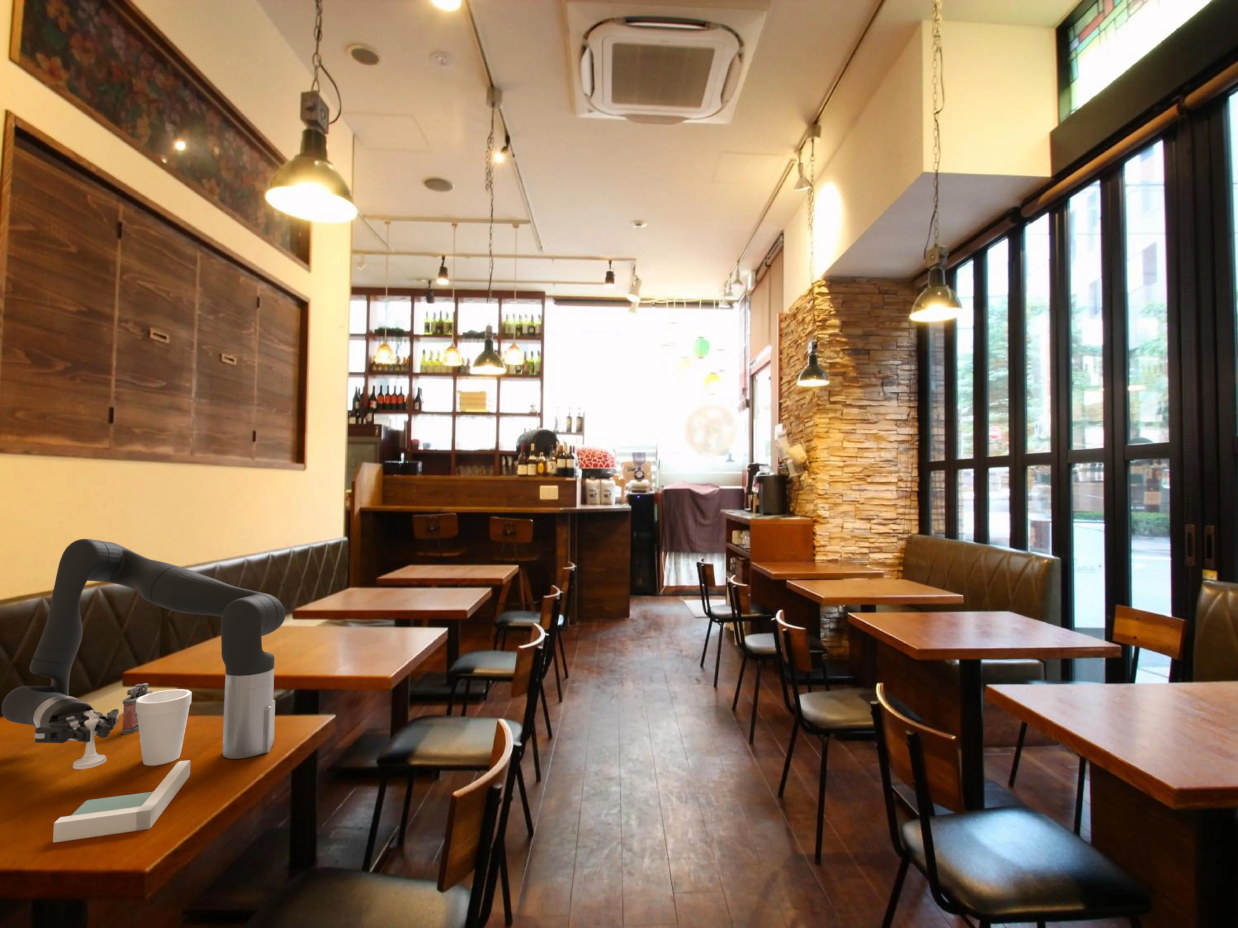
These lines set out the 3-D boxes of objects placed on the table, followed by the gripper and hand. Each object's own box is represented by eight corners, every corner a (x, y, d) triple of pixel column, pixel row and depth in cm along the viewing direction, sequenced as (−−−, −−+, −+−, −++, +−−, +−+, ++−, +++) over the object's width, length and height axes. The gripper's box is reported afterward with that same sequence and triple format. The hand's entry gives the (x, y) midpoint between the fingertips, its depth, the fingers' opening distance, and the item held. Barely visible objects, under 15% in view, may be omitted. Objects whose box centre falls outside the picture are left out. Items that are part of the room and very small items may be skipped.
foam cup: (141, 753, 134) (144, 692, 135) (193, 747, 138) (195, 687, 138) (127, 771, 125) (130, 705, 126) (182, 764, 129) (185, 699, 130)
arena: (189, 775, 124) (190, 759, 124) (150, 828, 104) (150, 809, 104) (103, 785, 119) (104, 769, 119) (45, 843, 99) (46, 824, 100)
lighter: (140, 721, 153) (142, 680, 154) (155, 721, 153) (156, 679, 154) (117, 734, 145) (119, 690, 146) (132, 733, 145) (134, 689, 146)
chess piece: (86, 770, 117) (88, 715, 117) (65, 768, 118) (67, 713, 118) (113, 759, 121) (114, 706, 122) (92, 757, 122) (94, 705, 123)
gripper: (18, 708, 122) (50, 725, 112) (105, 689, 133) (141, 703, 124) (16, 747, 121) (48, 768, 112) (104, 725, 133) (139, 742, 124)
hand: (96, 734), depth 118 cm, fingers closed on chess piece
